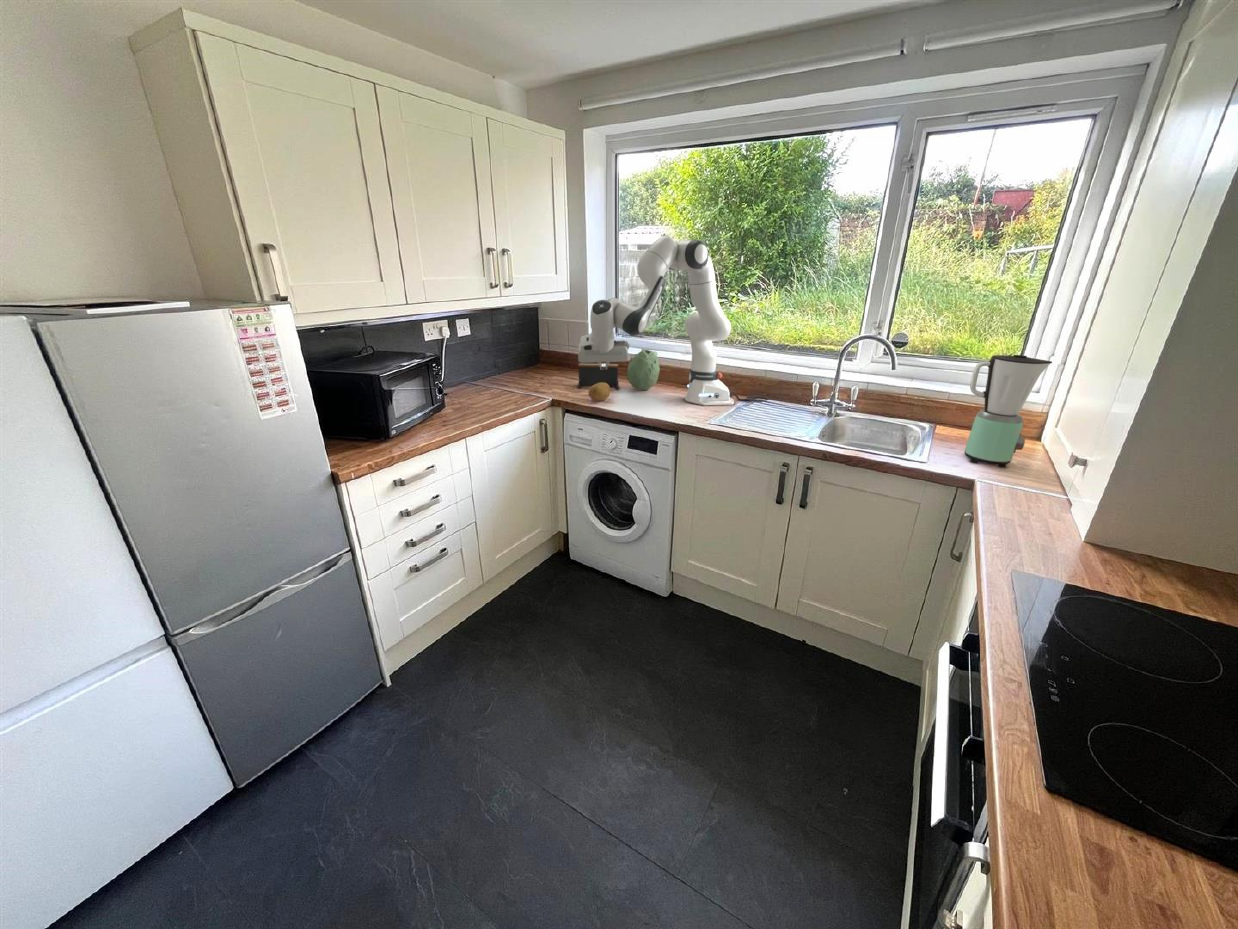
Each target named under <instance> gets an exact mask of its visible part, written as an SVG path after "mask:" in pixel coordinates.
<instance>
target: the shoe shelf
mask: <svg viewBox="0 0 1238 929" xmlns="http://www.w3.org/2000/svg"><path fill="white" fill-rule="evenodd" d="M618 374H619V364H618V363H610V364H609V365H608V366H607V369H603V370H600V366H599V365H598V364H597V363H580V362H578V385H577V386H578V387H577V388H578V390H580V389H581V386H590V387H592V386H593V385H595V384H597V383H601V382H603V383H607V384H608V385H609V387H615V388H616V390H617V391H618V390H619V383H620V382H619V375H618Z"/></svg>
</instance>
